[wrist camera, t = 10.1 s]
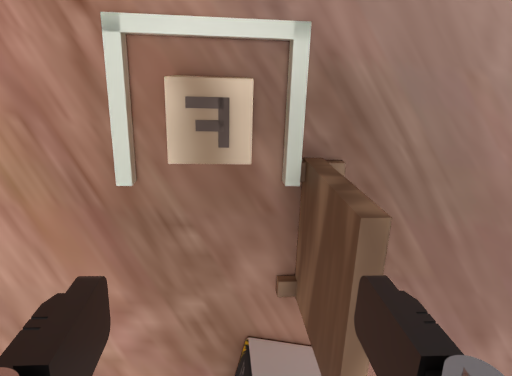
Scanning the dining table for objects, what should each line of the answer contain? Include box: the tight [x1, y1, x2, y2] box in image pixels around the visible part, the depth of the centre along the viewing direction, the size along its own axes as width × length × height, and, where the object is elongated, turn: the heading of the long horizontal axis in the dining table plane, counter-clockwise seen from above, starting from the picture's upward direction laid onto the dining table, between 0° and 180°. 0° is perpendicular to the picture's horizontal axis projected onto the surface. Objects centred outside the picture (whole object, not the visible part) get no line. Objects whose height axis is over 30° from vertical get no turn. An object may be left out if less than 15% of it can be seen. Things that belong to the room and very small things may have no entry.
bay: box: [100, 12, 311, 186], centre depth 27 cm, size 14×12×2 cm
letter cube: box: [164, 75, 254, 164], centre depth 26 cm, size 6×6×6 cm
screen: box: [276, 158, 392, 376], centre depth 26 cm, size 5×13×13 cm, turn 178°
